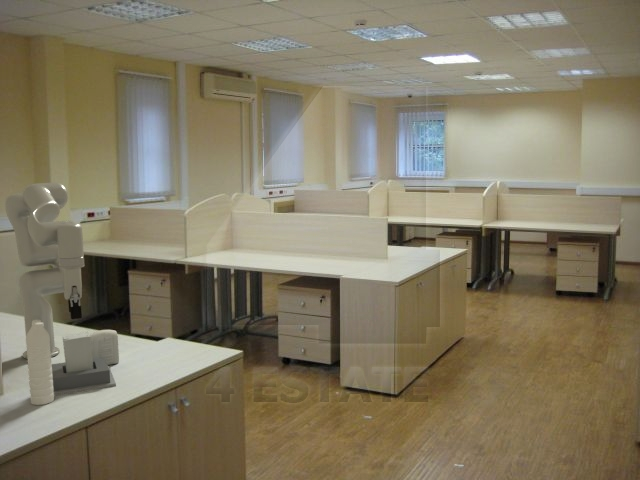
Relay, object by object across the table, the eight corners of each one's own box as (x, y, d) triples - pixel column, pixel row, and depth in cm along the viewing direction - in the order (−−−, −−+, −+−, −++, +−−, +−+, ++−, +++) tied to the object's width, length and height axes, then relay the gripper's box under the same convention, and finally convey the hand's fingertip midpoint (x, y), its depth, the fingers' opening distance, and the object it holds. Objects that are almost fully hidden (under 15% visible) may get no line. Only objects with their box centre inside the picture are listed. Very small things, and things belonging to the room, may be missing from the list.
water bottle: (29, 400, 197) (22, 319, 193) (52, 395, 200) (45, 316, 197) (34, 409, 189) (27, 326, 186) (57, 404, 193) (51, 322, 190)
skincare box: (92, 374, 216) (89, 331, 214) (94, 380, 211) (91, 335, 209) (65, 378, 213) (62, 334, 211) (67, 384, 207) (63, 339, 205)
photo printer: (117, 360, 234) (115, 326, 232) (121, 363, 230) (118, 329, 228) (87, 365, 228) (85, 331, 226) (91, 369, 224) (88, 334, 223)
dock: (46, 378, 216) (45, 363, 215) (109, 369, 224) (108, 355, 223) (48, 396, 200) (46, 380, 199) (115, 385, 208) (115, 370, 207)
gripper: (57, 259, 213) (61, 310, 215) (60, 267, 197) (64, 322, 200) (82, 257, 216) (85, 308, 218) (86, 265, 200) (90, 319, 203)
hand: (75, 315), depth 209 cm, fingers open, 9 cm apart
